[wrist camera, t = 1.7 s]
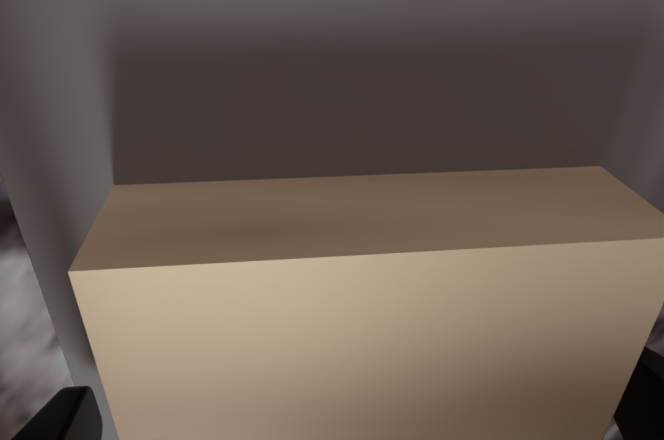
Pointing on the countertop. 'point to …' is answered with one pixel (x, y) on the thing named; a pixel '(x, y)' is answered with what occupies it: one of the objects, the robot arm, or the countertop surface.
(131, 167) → the mat
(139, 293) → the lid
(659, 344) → the countertop surface
